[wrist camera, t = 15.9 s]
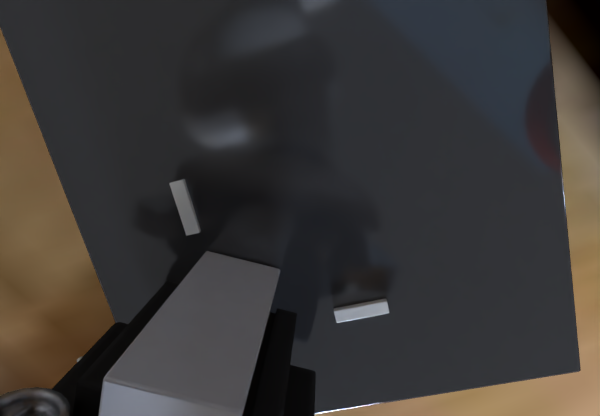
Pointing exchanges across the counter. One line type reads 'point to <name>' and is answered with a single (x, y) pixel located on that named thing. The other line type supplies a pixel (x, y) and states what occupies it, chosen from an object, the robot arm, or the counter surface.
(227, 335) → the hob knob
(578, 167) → the counter surface
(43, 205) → the counter surface
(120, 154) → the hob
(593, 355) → the counter surface
